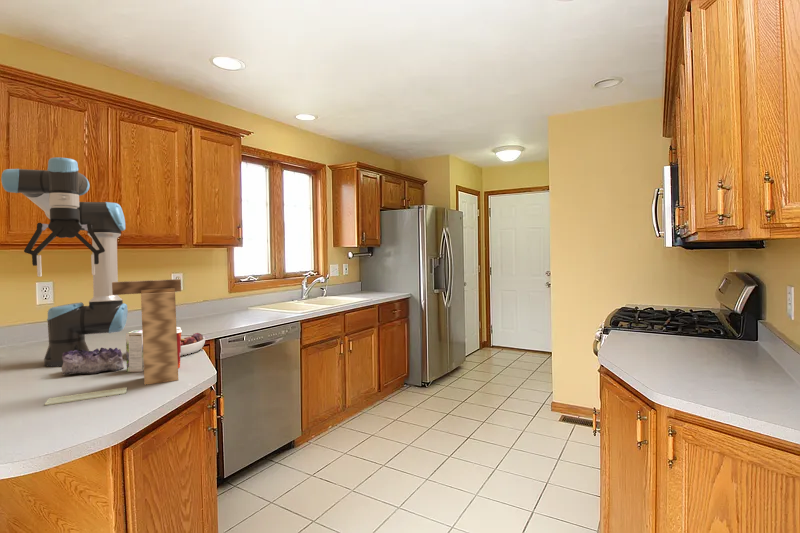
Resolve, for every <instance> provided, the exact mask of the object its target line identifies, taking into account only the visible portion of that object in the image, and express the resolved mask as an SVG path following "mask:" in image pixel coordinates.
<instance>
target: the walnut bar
mask: <svg viewBox="0 0 800 533" xmlns="http://www.w3.org/2000/svg"><path fill="white" fill-rule="evenodd" d="M181 280H182V279H181V278H175V279H155V280H153V279H150V280H149V279H148V280H131V281H129V280H128V281H126V280H125V281H118V282H112V294H113V295H118V296H119V295H137V294H139V295H141V290H151V289H170V288H175V293H176V292H182V281H181Z"/></svg>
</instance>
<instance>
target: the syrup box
mask: <svg viewBox="0 0 800 533" xmlns="http://www.w3.org/2000/svg"><path fill="white" fill-rule="evenodd" d="M125 350H126V351H125V353H126V354H125V355H126V356H125V358H126V373H130V372H131V373H133V372H134V373H138V372H144V358H143V334H142V329H138V330H137V329H136V330H132V331H130V332H126V333H125Z"/></svg>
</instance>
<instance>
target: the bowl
mask: <svg viewBox="0 0 800 533" xmlns="http://www.w3.org/2000/svg"><path fill="white" fill-rule="evenodd" d="M205 342H206V337H205V336H203V334H201V333H199V332H195V333H193V334H181V356H180V357H183V355H184V356H187V354H188V355H191V353H192V354H194V353H196V352H199V351H200V350H201V349H202V348H203V347H204V345H205Z"/></svg>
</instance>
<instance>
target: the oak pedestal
mask: <svg viewBox="0 0 800 533" xmlns="http://www.w3.org/2000/svg"><path fill="white" fill-rule="evenodd" d="M176 306H177V305H176V292H175V288H170V289H151V290H141V294H140V307H141V327H142V328H141V330H142V334H143V358H144V371H143V377H144V378H143V379H144V383H143V384H144V386H146V384H147V385H154V384H160V383H167V382H174V381H179V368H178V356H177V329H176V327H177V310H176V309H177V308H176Z"/></svg>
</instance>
